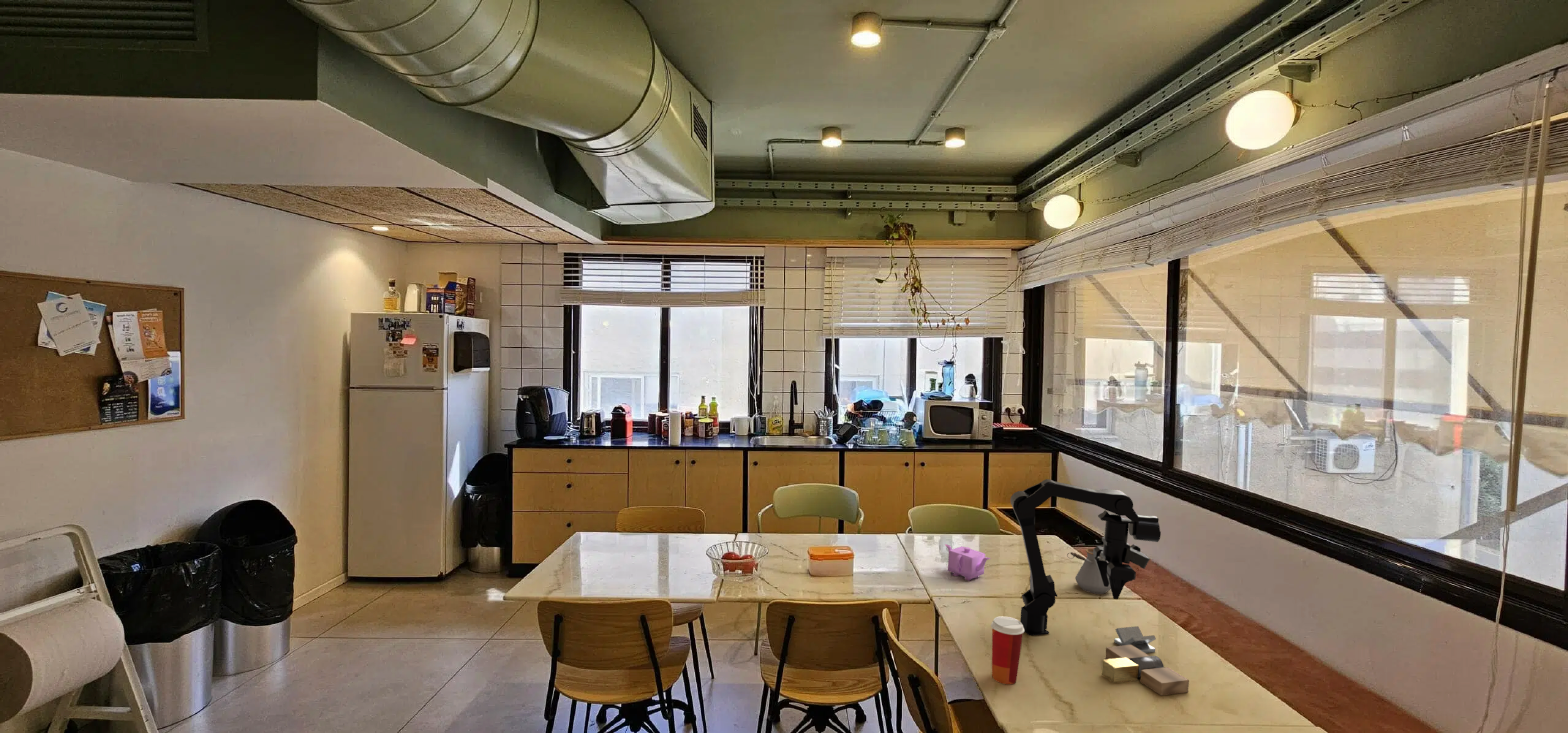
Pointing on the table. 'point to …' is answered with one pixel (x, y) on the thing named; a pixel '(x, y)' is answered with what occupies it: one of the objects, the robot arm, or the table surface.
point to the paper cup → (1006, 648)
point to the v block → (1134, 639)
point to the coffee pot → (1089, 574)
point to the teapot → (966, 562)
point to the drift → (1120, 670)
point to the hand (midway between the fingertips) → (1110, 592)
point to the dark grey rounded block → (1147, 663)
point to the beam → (1152, 672)
